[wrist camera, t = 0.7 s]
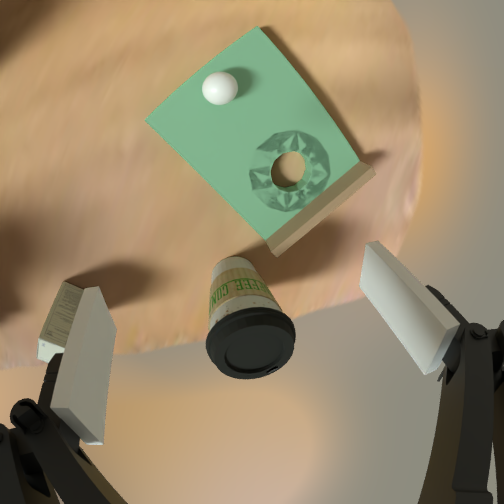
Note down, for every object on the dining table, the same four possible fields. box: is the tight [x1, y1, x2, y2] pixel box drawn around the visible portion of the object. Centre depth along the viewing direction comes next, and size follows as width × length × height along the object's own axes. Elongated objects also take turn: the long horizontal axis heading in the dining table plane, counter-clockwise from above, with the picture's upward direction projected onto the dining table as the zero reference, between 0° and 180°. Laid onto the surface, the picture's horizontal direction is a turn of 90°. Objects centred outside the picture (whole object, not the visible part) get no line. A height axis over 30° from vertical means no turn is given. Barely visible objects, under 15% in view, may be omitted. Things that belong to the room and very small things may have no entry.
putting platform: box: [145, 26, 376, 258], centre depth 33 cm, size 22×16×5 cm
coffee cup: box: [206, 257, 296, 379], centre depth 37 cm, size 10×10×15 cm
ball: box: [202, 72, 238, 105], centre depth 28 cm, size 4×4×4 cm
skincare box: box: [37, 281, 84, 363], centre depth 35 cm, size 6×4×12 cm
